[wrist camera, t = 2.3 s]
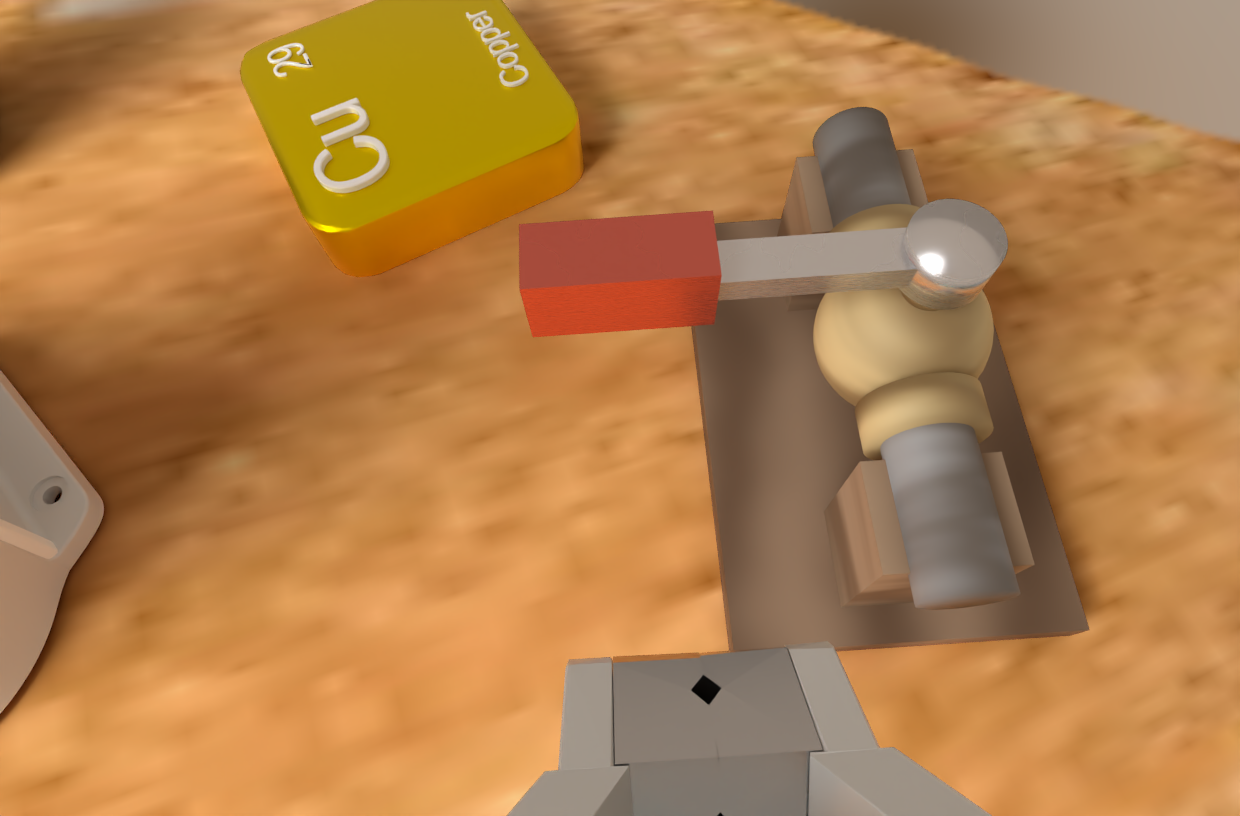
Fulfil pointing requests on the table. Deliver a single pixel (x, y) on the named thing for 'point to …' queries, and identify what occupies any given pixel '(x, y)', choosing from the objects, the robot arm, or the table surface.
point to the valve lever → (741, 266)
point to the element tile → (412, 125)
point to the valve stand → (871, 444)
